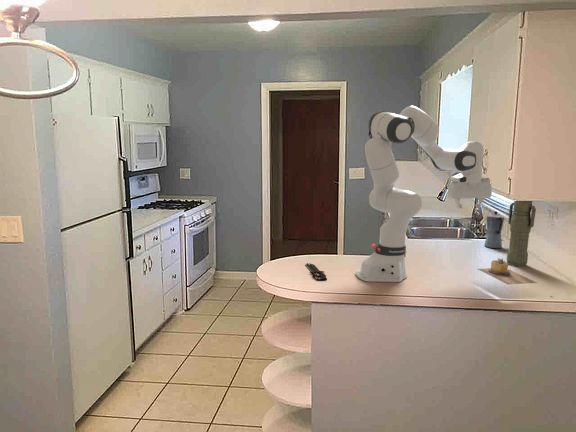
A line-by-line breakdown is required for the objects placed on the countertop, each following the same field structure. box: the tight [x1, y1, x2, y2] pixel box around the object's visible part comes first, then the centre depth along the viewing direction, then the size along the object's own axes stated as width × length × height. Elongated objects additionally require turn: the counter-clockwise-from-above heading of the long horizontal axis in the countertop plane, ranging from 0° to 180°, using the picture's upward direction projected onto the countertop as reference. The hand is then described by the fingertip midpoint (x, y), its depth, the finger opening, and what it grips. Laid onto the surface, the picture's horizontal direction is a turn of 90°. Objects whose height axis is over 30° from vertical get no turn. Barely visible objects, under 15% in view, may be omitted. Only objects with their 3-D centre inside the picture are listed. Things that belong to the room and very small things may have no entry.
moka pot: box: [484, 211, 505, 249], centre depth 266 cm, size 10×15×20 cm, turn 2°
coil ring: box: [490, 259, 509, 273], centre depth 216 cm, size 7×7×4 cm
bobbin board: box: [477, 258, 538, 285], centre depth 211 cm, size 14×22×8 cm, turn 11°
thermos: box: [506, 200, 537, 267], centre depth 228 cm, size 9×12×35 cm
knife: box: [305, 262, 328, 282], centre depth 219 cm, size 26×7×2 cm, turn 6°
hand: (468, 208), depth 220 cm, fingers open, 8 cm apart
